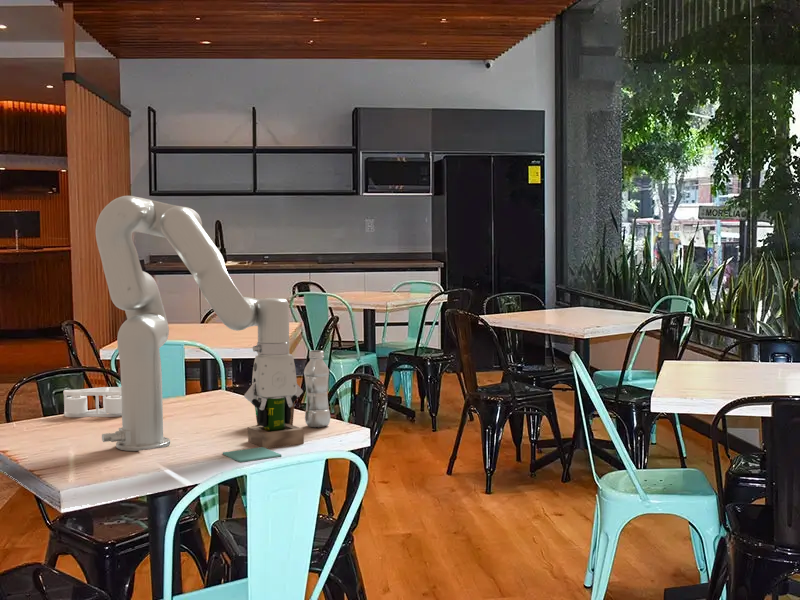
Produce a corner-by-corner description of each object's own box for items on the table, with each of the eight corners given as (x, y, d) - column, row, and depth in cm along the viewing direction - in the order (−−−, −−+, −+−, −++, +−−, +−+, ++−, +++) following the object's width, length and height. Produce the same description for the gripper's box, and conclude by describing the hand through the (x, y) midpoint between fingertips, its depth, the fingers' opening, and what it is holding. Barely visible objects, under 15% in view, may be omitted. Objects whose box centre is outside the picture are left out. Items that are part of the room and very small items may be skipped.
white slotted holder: (57, 419, 266) (56, 393, 265) (71, 412, 277) (71, 387, 276) (129, 419, 265) (128, 393, 265) (140, 412, 276) (140, 386, 276)
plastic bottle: (334, 427, 249) (333, 351, 248) (310, 430, 246) (309, 353, 245) (324, 423, 255) (323, 349, 254) (300, 426, 252) (299, 350, 250)
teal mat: (240, 462, 211) (240, 460, 211) (222, 454, 220) (222, 452, 220) (281, 456, 217) (281, 454, 217) (262, 448, 225) (262, 446, 225)
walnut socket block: (265, 448, 225) (265, 433, 225) (248, 441, 233) (247, 427, 233) (303, 443, 230) (303, 429, 230) (285, 436, 239) (285, 422, 238)
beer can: (273, 438, 236) (273, 390, 235) (290, 441, 232) (289, 392, 232) (258, 442, 231) (258, 393, 230) (275, 445, 228) (274, 395, 227)
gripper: (246, 353, 223) (247, 430, 224) (312, 348, 232) (313, 423, 233) (234, 350, 229) (234, 425, 230) (298, 346, 238) (299, 418, 239)
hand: (274, 423), depth 232 cm, fingers closed on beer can, 5 cm apart
